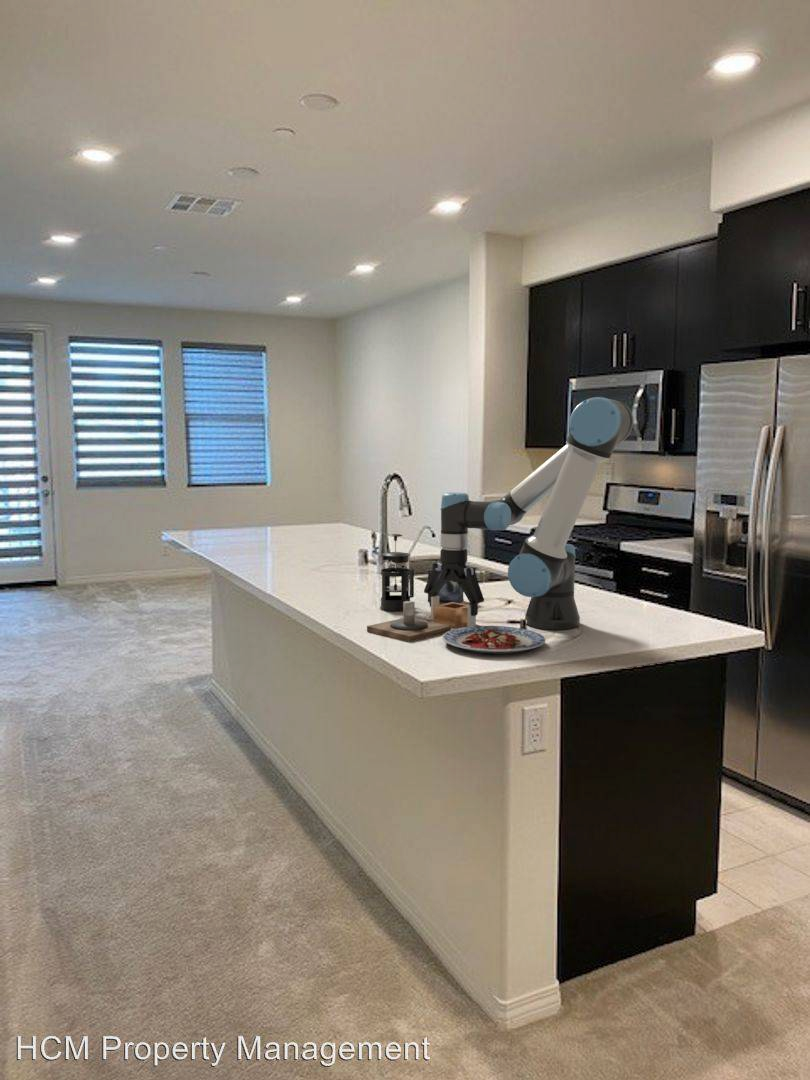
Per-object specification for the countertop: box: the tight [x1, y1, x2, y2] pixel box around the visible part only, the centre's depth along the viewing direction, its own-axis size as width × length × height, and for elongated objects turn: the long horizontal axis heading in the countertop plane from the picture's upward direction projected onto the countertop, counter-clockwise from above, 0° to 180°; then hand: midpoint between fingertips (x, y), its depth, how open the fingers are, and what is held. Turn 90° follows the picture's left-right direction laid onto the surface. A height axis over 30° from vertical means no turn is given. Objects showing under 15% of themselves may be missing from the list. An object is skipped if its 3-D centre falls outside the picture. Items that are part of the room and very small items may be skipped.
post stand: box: [366, 600, 452, 643], centre depth 216 cm, size 16×16×8 cm
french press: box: [379, 533, 415, 613], centre depth 246 cm, size 12×9×23 cm
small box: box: [427, 567, 464, 604], centre depth 258 cm, size 11×6×10 cm, turn 71°
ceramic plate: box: [442, 625, 546, 655], centre depth 203 cm, size 26×26×3 cm
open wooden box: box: [433, 602, 468, 629], centre depth 226 cm, size 8×8×5 cm
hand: (452, 622), depth 227 cm, fingers open, 13 cm apart
